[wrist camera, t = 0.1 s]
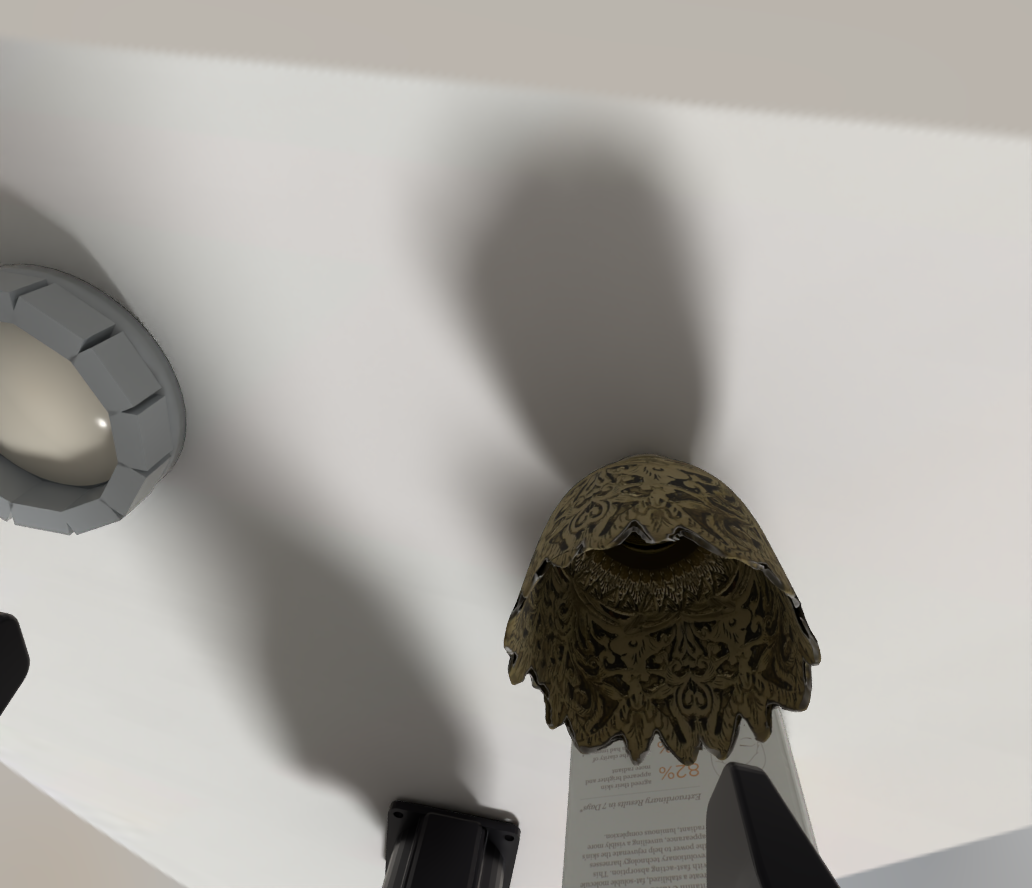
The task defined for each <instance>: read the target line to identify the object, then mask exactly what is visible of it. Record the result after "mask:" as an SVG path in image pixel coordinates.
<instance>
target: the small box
mask: <svg viewBox="0 0 1032 888" xmlns="http://www.w3.org/2000/svg"><path fill="white" fill-rule="evenodd" d="M777 707H778V706H777ZM744 724H745V726H744ZM658 737H659V735H657V734H656V735H655V736H654V740H653V741H652V743H651V746H650V750H651V752H650V753H649V755H647V756H646V758H645V759H644V761H643V762H642V763H641V764H640V765H639V766H634V765H633V764H632V762H631V760H630V757H629V755H628V754H627V753H626V752H625V746H624V743H623V741H620V740H619V741H617V742H613V744H612V745H610V746H608V747H607V748H605V749H602V750H599V751H597V752H595V753H593V754H581V753H580V752H579V751H578V750H577V749H576V748H575V746H574V744H573V741H572V744H571V759H570V777H569V794H568V808H567V823H566V837H565V853H564V867H563V879H562V888H707V880H706V813H707V807H708V803H709V800H710V797H711V795H712V793H713V791H714V788H715V786H716V784H717V782H718V779H719V777H720V775H721V773H722V770H723V768H724V767H725V765H726V764H727V763H729V762H738V763H743V764H748V765H752V766H757V767H759V768H761V769H763V770H764V771H765V772H766V773H767V775H768V776H769V778H770V779H771V781H772V782H773V784H774V785H775V787H776V788H777V790H778V792H779V793H780V795H781V796H782V798H783V799H784V801H785V802H786V804H787V806H788V807H789V809H790V810H791V812H792V813H793V815H794V816H795V818H796V820H797V821H798V823H799V824H800V826H801V827H802V829H803V830H804V832H805V834H806V835H807V837H808V838H809V840H810V841H811V843H812V844H813V846H814V848H815V849H816V851H817V852H818V849H817V845H816V841H815V837H814V833H813V829H812V826H811V822H810V818H809V814H808V811H807V807H806V803H805V799H804V795H803V792H802V788H801V784H800V780H799V776H798V773H797V769H796V765H795V761H794V758H793V754H792V751H791V747H790V744H789V740H788V737H787V733H786V730H785V726H784V723H783V720H782V716H781V713H780V710H779V708H777V709H774V710H772V733H771V735H770V737H769V738H768V739H767V741H766V742H764V743H761V742H759V741H756V740H755V739H754V738H755V737H754V735H753V733H752V731H751V730H750V728H749V726H748V724H747V723H746V721H745V720H744V719H743V718H742V720H741V724H740V731H739V736H738V739H737V742H736V744H735V747H734V749H733V752H732V753H731V754H730V756H729V757H728V758H727V759H726V760H719V759H717V758H716V757H715V756H714V755H712V754H711V753H709V752H708V751H706V750H705V749H704V748H705V746H704V745H703V751H702V750H699V753H698V756H697V760H696V762H695V763H694V764H693V765H690V766H685V765H683V764H682V763H680V762H679V761H678V760H677V759H676V758H675V757H674V755H673V754H672V753H671V752H670V751H667V750H666V749H665V748H664V746H663V745H662V743H661V741H660V739H659V738H658ZM615 740H616V739H615ZM612 741H613V740H612ZM650 750H649V751H650ZM818 854H819V852H818Z"/></svg>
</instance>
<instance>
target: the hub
mask: <svg viewBox="0 0 1032 888" xmlns="http://www.w3.org/2000/svg"><path fill="white" fill-rule="evenodd" d="M185 432H186V414H185V407H184V402H183V397H182V393H181V390H180V387H179V384H178V381H177V379H176V376H175V374H174V372H173V370H172V368H171V366H170V364H169V362H168V360H167V359H166V357H165V355H164V354H163V352H162V350H161V349H160V347H159V346H158V345H157V343H156V342H155V341H154V339H153V338H152V337H151V335H150V334H149V333H148V332H147V331H146V329H145V328H144V327H143V326H142V325H141V324H140V323H139V322H138V321H137V319H135V318H134V317H133V316H132V315H131V314H130V313H129V312H128V311H127V310H126V309H125V308H123V307H122V306H121V305H120V304H118V303H117V302H116V301H115V300H113V299H112V298H111V297H109V296H108V295H107V294H105V293H103V292H102V291H100V290H99V289H97V288H95V287H94V286H92V285H90V284H88V283H86V282H84V281H82V280H80V279H78V278H76V277H74V276H72V275H69V274H66V273H63V272H61V271H58V270H55V269H50V268H46V267H42V266H36V265H26V264H12V265H3V266H0V518H2V519H3V520H5V521H8V520H10V519H11V518H12V517H13V520H14V524H15V525H19V526H24V527H29V528H34V529H40V530H45V531H50V532H55V533H61V534H66V535H71V534H72V533H73V532H75V533H76V534H77V535H78V534H81V533H84V532H87V531H90V530H93V529H96V528H99V527H102V526H105V525H108V524H111V523H114V522H117V521H120V520H121V519H122V518H123V517H125V516H126V515H127V514H128V513H129V512H131V511H132V510H133V509H134V508H135V507H136V506H137V505H138V504H140V503H141V502H142V501H143V500H144V499H145V498H146V497H147V496H148V495H150V494H151V492H152V490H153V489H154V487H155V485H156V484H157V483H158V482H159V481H160V480H161V479H162V478H163V477H164V476H165V475H166V474H167V473H168V472H169V471H170V470H171V469H172V467H173V466H174V465H175V463H176V462H177V460H178V458H179V455H180V453H181V451H182V448H183V444H184V440H185Z"/></svg>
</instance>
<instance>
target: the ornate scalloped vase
mask: <svg viewBox="0 0 1032 888" xmlns="http://www.w3.org/2000/svg"><path fill="white" fill-rule="evenodd" d="M504 648H505V650H506V651H507V653H508V655H509V656H510V660H509V665H508V673H509V678H510V681H511V684H512V685H516V684H518V683H521V682H523V681H524V679H525V676H526V674H529V675H530V677H531V681H532V686H533V687H534V688H536V689H539V690H540V691H541V692H542V693H543V694H544V702H545V704H546V708H545V710H546V716H545V718H546V723H547V725H548V726H549V728H550V729H555V728H557V727H558V726H561V725H562V724H564V723H565V725H566V727H567V730H568V733H569V735H570V736H571V739H572V741H573V744H574V746H575V748H576V749H577V750H578V751H579V752H580V753H581V754H593V753H595V752H597V751H599V750H602V749H605V748H607V747H608V746H610V745H612V744H613V742H617V741H619V740H620V741H623V743H624V746H625V752H626V753H627V754H628V755H629V757H630V760H631V762H632V764H633V765H634V766H639V765H640V764H641V763H642V762H643V761H644V759H645V758H646V756H647V755H649V753H650V752H651V750H650V746H651V743H652V741H653V740H654V736H655V735H656V734H657V735H659V737H658V738H659V739H660V741H661V743H662V745H663V746H664V748H665V749H666V750H667V751H670V752H671V753H672V754H673V755H674V757H675V758H676V759H677V760H678V761H679V762H680V763H682V764H683V765H685V766H690V765H693V764H694V763H695V762H696V760H697V756H698V753H699V750H702V751H703V745H704V746H705V748H704V749H705V750H706V751H708V752H709V753H711V754H712V755H714V756H715V757H716V758H717V759H719V760H726V759H727V758H728V757H729V756H730V754H731V753H732V752H733V749H734V747H735V744H736V742H737V739H738V736H739V731H740V724H741V720H742V718H743V719H744V720H745V721H746V723H747V724H748V726H749V728H750V730H751V731H752V733H753V735H754V737H755V738H754V739H755V740H756V741H759V742H761V743H764V742H766V741H767V739H768V738H769V737H770V735H771V733H772V710H774V709H777V708H780V707H781V708H782V709H784V710H788V711H791V712H802V711H805V710H806V709H807V708H808V705H809V703H810V697H811V690H812V676H811V665H812V666H817V665H819V663H820V662H821V654H820V649H819V646H818V643H817V640H816V638H815V636H814V635H813V633H812V632H811V630H810V628H809V626H808V623H807V621H806V619H805V616H804V613H803V610H802V607H801V603H800V601H799V599H798V597H797V595H796V593H795V592H794V590H793V588H792V586H791V584H790V582H789V580H788V578H787V576H786V574H785V572H784V570H783V568H782V566H781V564H780V563H779V561H778V559H777V557H776V555H775V553H774V551H773V549H772V548H771V546H770V544H769V542H768V540H767V538H766V536H765V535H764V533H763V531H762V529H761V528H760V526H759V524H758V523H757V521H756V520H755V518H754V517H753V516H752V514H751V513H750V511H749V510H748V508H747V507H746V506H745V504H744V503H743V502H742V501H741V500H740V499H739V498H738V497H737V496H736V494H735V493H734V492H733V491H732V490H731V489H730V488H729V487H727V486H726V485H725V484H724V483H723V482H722V481H720V480H719V479H717V478H716V477H714V476H713V475H711V474H709V473H707V472H706V471H704V470H702V469H700V468H698V467H696V466H693V465H690V464H688V463H685V462H681V461H677V460H673V459H670V458H667V457H664V456H660V455H655V454H639V455H633V456H630V457H626V458H624V459H622V460H620V461H618V462H615V463H612V464H609V465H607V466H605V467H602V468H600V469H598V470H596V471H595V472H593V473H591V474H590V475H588V476H587V477H585V478H584V479H583V480H581V481H580V482H579V483H577V484H576V485H575V486H574V487H573V488H572V489H571V490H570V491H569V492H568V493H567V494H566V495H565V496H564V498H563V499H562V500H561V502H560V503H559V504H558V506H557V507H556V509H555V510H554V512H553V513H552V515H551V517H550V519H549V521H548V523H547V525H546V527H545V529H544V531H543V533H542V535H541V538H540V540H539V542H538V545H537V547H536V550H535V552H534V555H533V558H532V560H531V563H530V566H529V568H528V571H527V574H526V577H525V579H524V582H523V585H522V588H521V591H520V593H519V596H518V599H517V602H516V604H515V607H514V609H513V611H512V613H511V615H510V618H509V621H508V623H507V627H506V632H505V637H504ZM777 706H780V707H777ZM563 722H564V723H563ZM744 726H745V724H744ZM615 739H616V740H615ZM612 740H613V741H612ZM649 750H650V751H649Z"/></svg>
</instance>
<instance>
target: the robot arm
mask: <svg viewBox="0 0 1032 888" xmlns="http://www.w3.org/2000/svg"><path fill="white" fill-rule="evenodd" d="M29 666H30V658H29V654H28V651H27V648H26V645H25V641H24V638H23V635H22V632H21V628H20V625H19V622H18V620H17V619H16V618H15V617H14V616H13V615H11V614H8V613H3V612H0V716H1V714H2V713H3V711H4V710H5V708H6V707H7V705H8V703H9V702H10V700H11V699H12V697H13V696H14V694H15V693H16V691H17V690H18V688H19V687H20V685H21V684H22V682H23V681H24V679H25V677H26V675H27V673H28V670H29ZM520 833H521V831H520V829H519V827H517V826H516V825H513V824H509V823H505V822H500V821H495V820H490V819H485V818H480V817H476V816H471V815H466V814H461V813H456V812H452V811H447V810H442V809H437V808H432V807H428V806H423V805H418V804H413V803H408V802H403V801H394V802H392V803H391V806H390V809H389V812H388V830H387V850H386V870H385V879H384V883H383V886H382V888H509V887H510V882H511V877H512V873H513V868H514V864H515V859H516V854H517V850H518V845H519V840H520ZM706 880H707V888H840V886H839V885H838V883H837V882H836V880H835V879H834V877H833V876H832V874H831V872H830V871H829V869H828V868H827V866H826V865H825V863H824V862H823V860H822V858H821V857H820V855H819V854H818V852H817V851H816V849H815V848H814V846H813V844H812V843H811V841H810V840H809V838H808V837H807V835H806V834H805V832H804V830H803V829H802V827H801V826H800V824H799V823H798V821H797V820H796V818H795V816H794V815H793V813H792V812H791V810H790V809H789V807H788V806H787V804H786V802H785V801H784V799H783V798H782V796H781V795H780V793H779V792H778V790H777V788H776V787H775V785H774V784H773V782H772V781H771V779H770V778H769V776H768V775H767V773H766V772H765V771H764V770H763V769H761V768H759V767H757V766H752V765H748V764H743V763H738V762H729V763H727V764H726V765H725V767H724V768H723V770H722V773H721V775H720V777H719V779H718V782H717V784H716V786H715V788H714V791H713V793H712V795H711V797H710V800H709V803H708V807H707V813H706Z"/></svg>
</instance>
